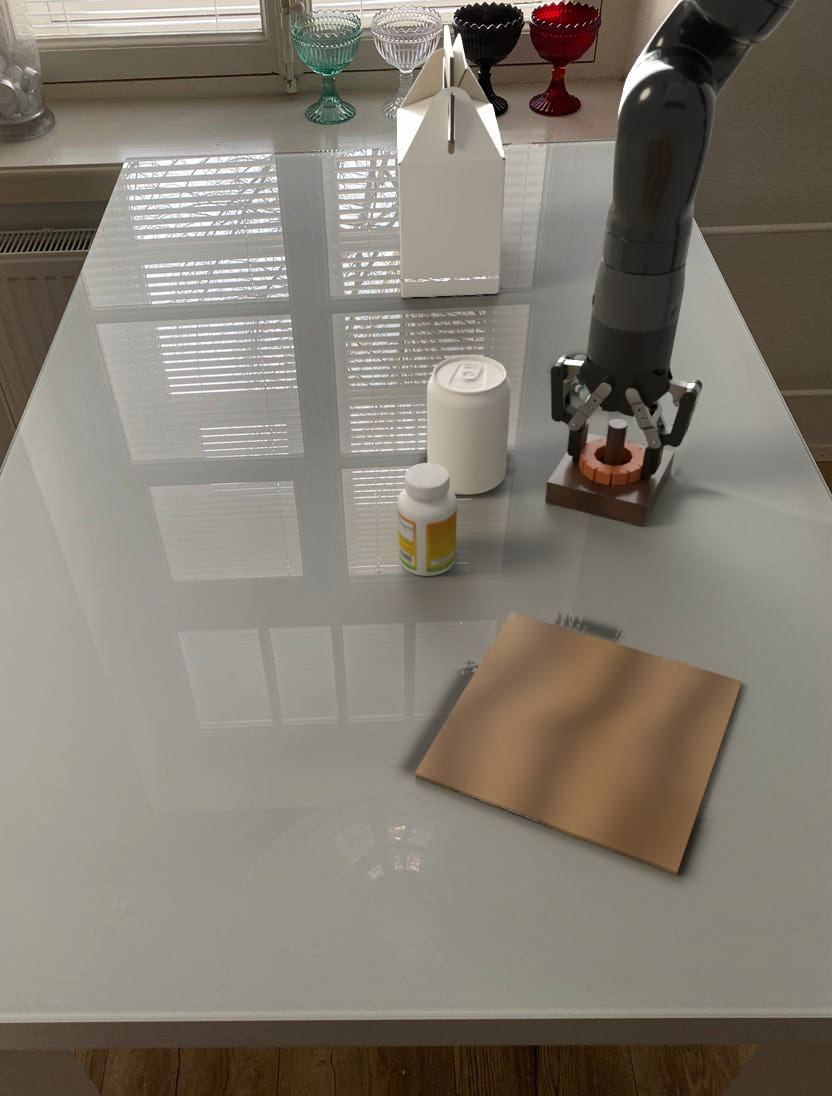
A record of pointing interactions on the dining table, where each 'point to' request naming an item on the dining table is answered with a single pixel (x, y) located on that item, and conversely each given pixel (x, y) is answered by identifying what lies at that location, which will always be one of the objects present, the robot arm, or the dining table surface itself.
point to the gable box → (449, 180)
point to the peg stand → (610, 499)
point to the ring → (607, 472)
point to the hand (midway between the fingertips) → (611, 465)
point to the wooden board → (587, 738)
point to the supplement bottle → (427, 520)
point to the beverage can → (469, 422)
